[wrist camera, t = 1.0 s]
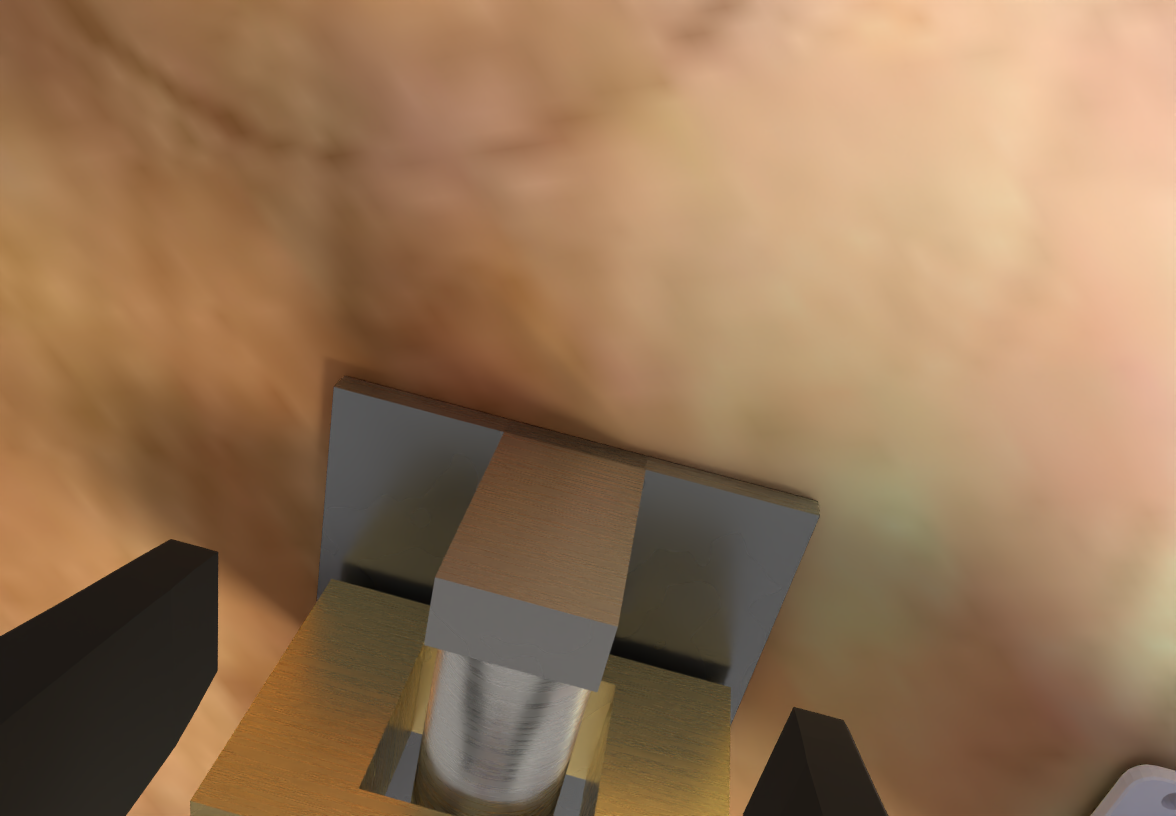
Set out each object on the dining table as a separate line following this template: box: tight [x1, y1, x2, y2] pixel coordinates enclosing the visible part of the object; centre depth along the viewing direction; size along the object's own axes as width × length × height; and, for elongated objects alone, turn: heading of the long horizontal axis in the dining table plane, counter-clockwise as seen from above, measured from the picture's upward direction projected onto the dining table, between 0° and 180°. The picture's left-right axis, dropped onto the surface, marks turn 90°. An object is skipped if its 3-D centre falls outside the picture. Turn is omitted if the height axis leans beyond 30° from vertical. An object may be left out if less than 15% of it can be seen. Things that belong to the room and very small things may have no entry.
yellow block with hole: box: [190, 579, 731, 816], centre depth 17 cm, size 3×9×6 cm, turn 78°
